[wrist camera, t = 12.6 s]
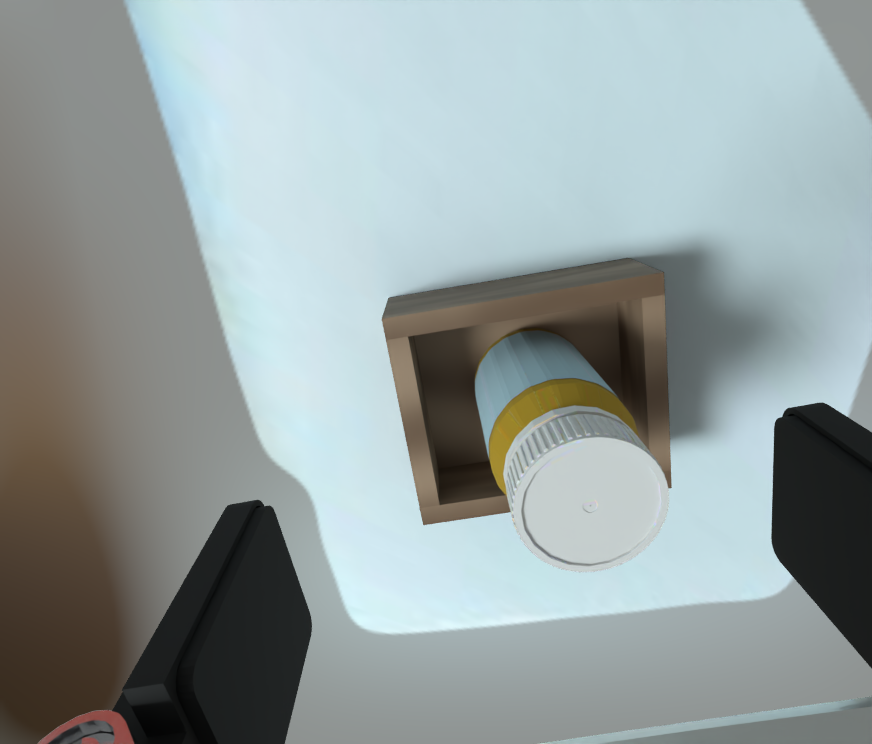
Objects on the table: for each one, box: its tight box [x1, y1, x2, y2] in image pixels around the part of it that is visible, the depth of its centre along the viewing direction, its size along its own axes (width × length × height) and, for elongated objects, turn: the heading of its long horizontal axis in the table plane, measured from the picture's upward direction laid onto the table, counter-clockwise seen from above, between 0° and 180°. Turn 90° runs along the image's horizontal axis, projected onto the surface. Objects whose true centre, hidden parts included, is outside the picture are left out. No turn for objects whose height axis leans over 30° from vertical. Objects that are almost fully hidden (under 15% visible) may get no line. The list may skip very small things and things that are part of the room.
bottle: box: [475, 328, 669, 572], centre depth 29 cm, size 7×7×15 cm
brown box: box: [382, 258, 671, 525], centre depth 35 cm, size 13×15×6 cm
